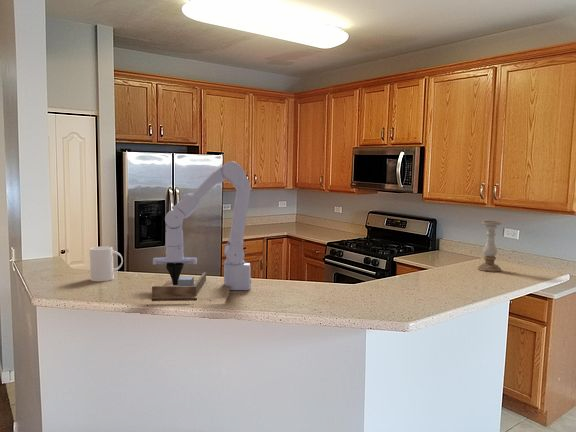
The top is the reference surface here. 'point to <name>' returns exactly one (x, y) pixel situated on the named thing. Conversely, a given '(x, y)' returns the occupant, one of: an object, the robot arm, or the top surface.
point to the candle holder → (490, 248)
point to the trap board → (178, 290)
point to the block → (186, 281)
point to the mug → (102, 263)
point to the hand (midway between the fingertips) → (175, 284)
